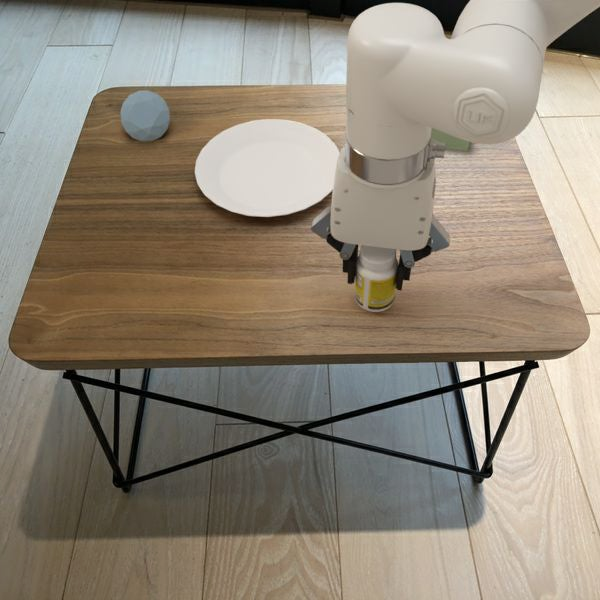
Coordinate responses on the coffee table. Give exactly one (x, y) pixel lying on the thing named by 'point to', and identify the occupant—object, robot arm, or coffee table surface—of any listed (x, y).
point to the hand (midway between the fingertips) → (376, 276)
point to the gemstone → (145, 115)
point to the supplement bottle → (376, 278)
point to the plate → (267, 167)
